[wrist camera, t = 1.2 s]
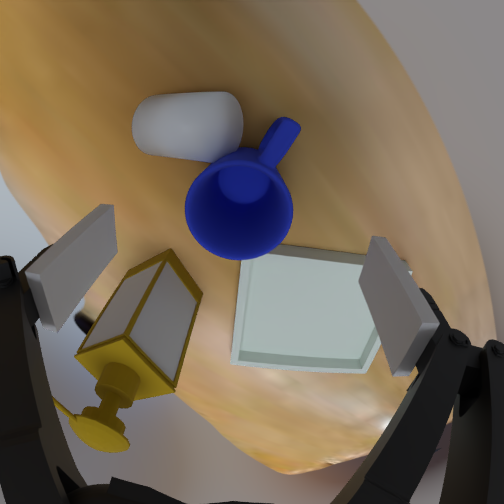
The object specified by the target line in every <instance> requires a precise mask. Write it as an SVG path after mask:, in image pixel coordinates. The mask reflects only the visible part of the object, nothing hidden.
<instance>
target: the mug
mask: <svg viewBox="0 0 504 504" xmlns="http://www.w3.org/2000/svg"><path fill="white" fill-rule="evenodd" d="M300 130H301V127H300V125H299V124H298V123H297V122H295V121H294V120H292V119H290V118H287V117H280V118H278V119H277V120H276V121H275V122H274V123H273V124H272V125H271V127H270V128H269V129H268V131H267V133H266V134H265V136H264V138H263V139H262V141H261V143H260V146H259V149H258V150H257V149H253V148H248V147H239V148H238V149H237V151H235V152H232V153H230V154H227V155H225V156H223V157H222V158H220V159H218V160H217V161H215V162H214V163H211V164H210V165H209V166H208V167H207V168H206V169H205V170H204V171H203V172H202V173H201V174H200V175H199V176H198V177H197V178H196V179H195V180H194V182H193V183H192V185H191V187H190V189H189V191H188V194H187V197H186V201H185V216H186V221H187V224H188V227H189V229H190V231H191V233H192V235H193V236H194V238H195V239H196V240H197V241H198V243H199V244H200V245H201V246H203V247H204V248H205V249H206V250H208V251H209V252H211V253H213V254H215V255H217V256H220V257H223V258H226V259H231V260H249V259H254V258H258V257H260V256H263V255H265V254H267V253H269V252H270V251H272V250H273V249H274V248H276V247H277V246H278V245H279V244H280V243H281V242H282V241H283V239H284V238H285V236H286V235H287V233H288V231H289V229H290V226H291V223H292V218H293V203H292V198H291V195H290V193H289V190H288V188H287V186H286V185H285V183H284V181H283V179H282V177H281V175H280V174H279V172H278V170H277V168H276V165H277V164H278V163H279V162H280V161H281V159H282V158H283V157H284V155H285V154H286V153H287V151H288V150H289V148H290V147H291V145H292V144H293V142H294V140H295V139H296V137H297V136H298V134H299V132H300Z"/></svg>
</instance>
